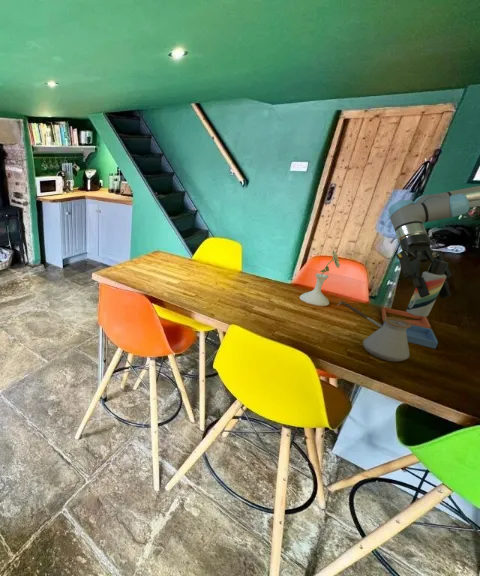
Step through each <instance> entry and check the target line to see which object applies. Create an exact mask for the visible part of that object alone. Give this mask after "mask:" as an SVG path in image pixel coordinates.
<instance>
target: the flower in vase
mask: <svg viewBox="0 0 480 576" xmlns="http://www.w3.org/2000/svg"><path fill="white" fill-rule="evenodd" d="M331 254H332V259H331V260H330V261H329V262H328V263H327V264H326V265H325V267H324V268H323V269H322V270H320V271H319V272H320V273H315V274H314V276H315V278H316V283H315V286H314V289H312V290H310V291H307V292H304V293H302V294H301V295H299V300H300V301H301V302H302V303H305V304H307V305H310V306H315V307H327V306H329V305H330V301H329V299H328V298H327V296H325V294H323V293H322V287H323V284H324V283H325V281H326V280H327V279H328V278H329V277H330V276H329V275H328V274H325V273H327V272H329V271H330V268H329V266H328V265H330V263H332V262H333V263H334V266H335V267H336V268H337V269H339V268H340V266H341V264H340V259H339V257H338V256H339V255H338V254H337V251H336V250H332V253H331Z"/></svg>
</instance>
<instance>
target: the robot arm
mask: <svg viewBox="0 0 480 576" xmlns="http://www.w3.org/2000/svg"><path fill="white" fill-rule="evenodd" d="M476 207H477V208H478V207H480V185H476V186H471V187H465V188H459V189H454V190H449V191H445V192H439V193H434V194H432V193H428V194H427V193H426V194H423V195H420V196H418V197H417V198H416V199H414V201H413V200H412V199H403V200H399V201H396V202H394V203H393V204H391V205H390V206H389V208H388V209H387V212H388V215H389V220H390V221H391V224H392V227H393V229H394V232H395V235H396V239H397V240H398V242H399V243H398V244H399V246H400V249H401V251H399V252H397V253H396V254H395V256H396V258H397V259H398V261H399V264H400V268H401V271H402V275H403V277H404V278H405V279H408V281H409V282H412V284H413V286H414V288H415V289H416V288H417V290H418V293H419V295H420V298H423V297H426V296H428V295H430V293H429V291H428V288H427V286H426V283H425V280H424V278H423V277H421V264H422V265H423V266H425V267H426V268H427V270H428V269H429V266H430V264H431V262H432V260H440V261H443V262H446V259H445V258H444V252H442V251H439V252H437V251H434V249H432V248H431V245H432V242H431V240H430V237H429V235H428V232H427V229H426V227H425V225H424V224H425V223H430V222H435V221H440V220H444V219H450V218H455V217H458V216H462V215H465V214H467V213H468V212H469V210H470V209H471V208H476ZM444 275H446V279H445V281H444V283H443V286H442V288H441V290H440V292H439V294H438V295H439V296H440V299H446V298H449V297H451V296H452V293H451V290H450V288H449V287H450V284H449V283H448V280H447V279H449V278H451V277H452V276H453V275H452V272H451V270H450V268H449V265H448V266H447V268H446V270H445V272H444Z"/></svg>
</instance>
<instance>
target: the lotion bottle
mask: <svg viewBox="0 0 480 576" xmlns="http://www.w3.org/2000/svg"><path fill="white" fill-rule="evenodd" d="M447 266H448V267H449V262H446V261H445V262H443V261H440V260H432V262H431V264H430V266H429V269H428V268H427V271H426V270H425V271H423V272H422V273H421V274H420V278H421V277H423V278H424V280H425V283H426V286H427V288H428V291H429V293H430V295H428V296H426V297H423V298H420V295H419V293H418V290H417V288H415V289H414V291H413V294H412V296H411V298H410V301H409V303H408V305H407V307H406V310H405V312H408V313H410V314H413V315H416V316H422V317H426V318H427V317H428V316H429V314H430V312H431V311H432V309H433V306H434V305H435V303H436V300H437V298H438V296H439V295H440V294H439V292H440V290H441V288H442V286H443V283H444V281H445V279H446V275H444V272H445V270H446V268H447ZM446 280H447V279H446Z"/></svg>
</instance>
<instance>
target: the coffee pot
mask: <svg viewBox="0 0 480 576" xmlns="http://www.w3.org/2000/svg"><path fill="white" fill-rule="evenodd" d="M341 304H342V305H343V306H345V307H346V308H348V309H350V310H351V311H352V312H353V313H355V314H357V315H358V316H361V317H362V318H364V319H366V320H368V321H369V322H370V323H372V324H374V325H375V326H377V327H378V329H376V330H375V331H374V332H373V333H371V334H370V335H368V336H367V337H366V338H365V339H364V340H363V341H362V345H363V347H364V349H365V351H367V353H369V354H370V355H371V356H373V357H375V358H378V359H381V360H383V361H386V362H387V361H388V362H402V361H403V362H404V361H406V360H407V359H409V357H410V356H411V355H410V347H409V342H408V341H407V334H406V330H407V328H409V327H411V324H410V323H409V322H407V321H404V320H405V319H402V318H399V317H392V316H387V317H385V318H384V321H385V324H384V325H383V324H381V323H379V322H378V321H376V320H374V319H373V318H371V317H369V316H368V315H367V314H365V313H363V312H362V311H361V310H360V309H358V308H356V307H354V306H352V305H351V304H350V303H346V302H345V301H343V300H341V301H340V302H339V303H338V304H337V306H340V305H341Z"/></svg>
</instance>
